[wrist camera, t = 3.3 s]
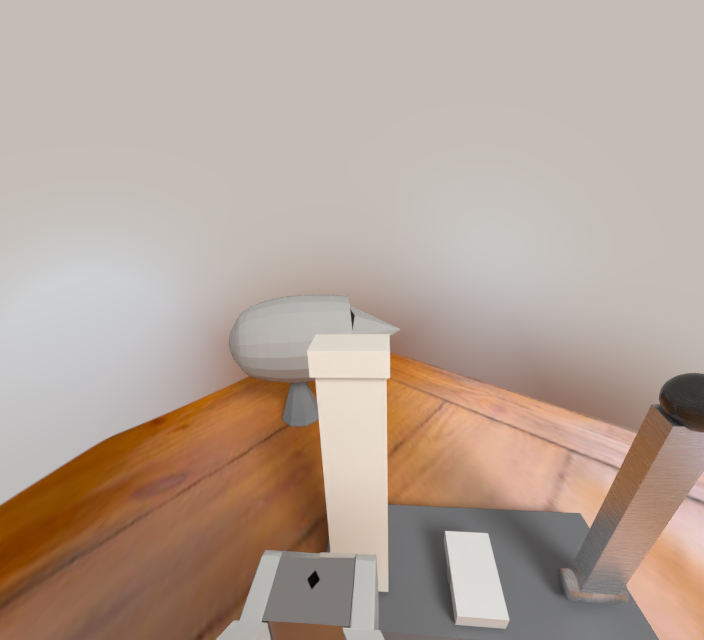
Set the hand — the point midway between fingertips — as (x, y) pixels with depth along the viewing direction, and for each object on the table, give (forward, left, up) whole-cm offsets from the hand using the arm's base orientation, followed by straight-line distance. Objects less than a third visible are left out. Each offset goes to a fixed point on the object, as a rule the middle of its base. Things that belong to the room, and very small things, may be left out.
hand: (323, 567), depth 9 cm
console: (0, +15, -19) cm, 25 cm away
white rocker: (+1, +14, -16) cm, 21 cm away
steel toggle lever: (+8, +18, -16) cm, 25 cm away
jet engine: (-24, +26, -19) cm, 40 cm away
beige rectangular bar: (-6, +10, -17) cm, 21 cm away
